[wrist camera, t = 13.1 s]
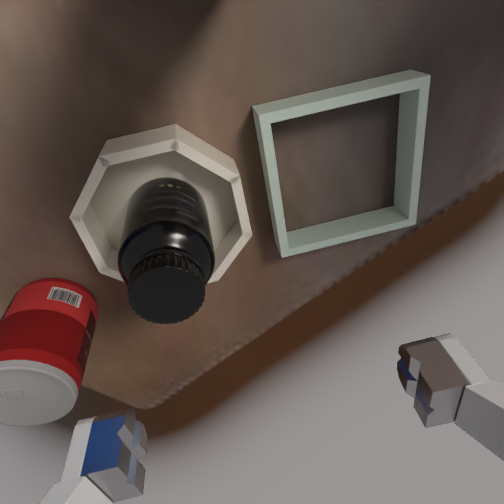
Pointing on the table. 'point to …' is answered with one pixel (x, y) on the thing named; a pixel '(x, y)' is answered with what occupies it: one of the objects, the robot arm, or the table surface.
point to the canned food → (44, 350)
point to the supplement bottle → (166, 250)
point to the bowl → (151, 167)
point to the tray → (407, 158)
